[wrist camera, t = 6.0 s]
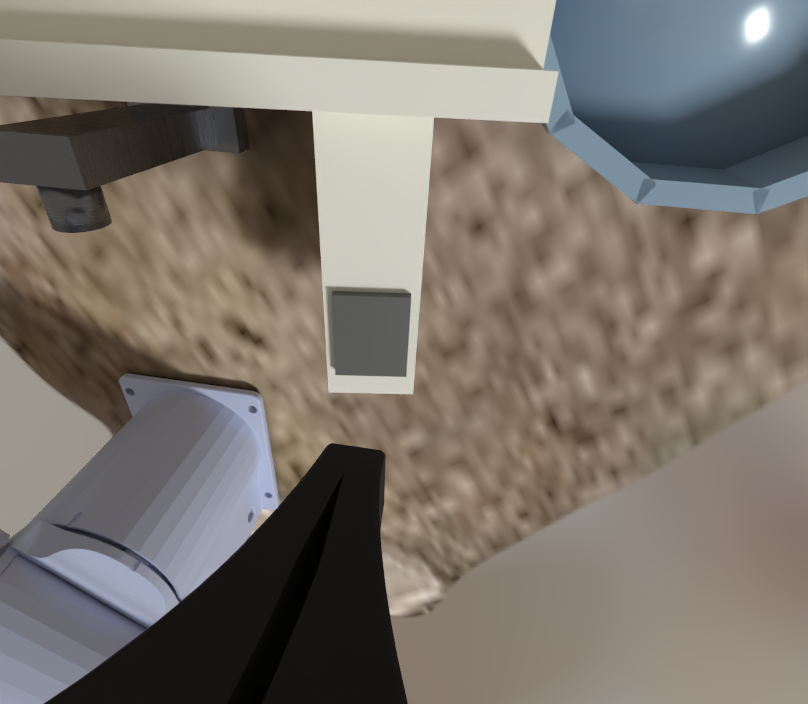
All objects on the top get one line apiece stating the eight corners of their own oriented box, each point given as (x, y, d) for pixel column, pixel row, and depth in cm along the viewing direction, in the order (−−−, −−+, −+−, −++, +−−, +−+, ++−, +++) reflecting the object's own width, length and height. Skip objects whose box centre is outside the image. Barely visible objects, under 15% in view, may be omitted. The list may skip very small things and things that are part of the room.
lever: (477, 378, 17) (491, 431, 15) (-192, 362, 16) (-291, 415, 14) (618, -424, 8) (719, -634, 5) (-1010, -600, 6) (-1792, -962, 4)
